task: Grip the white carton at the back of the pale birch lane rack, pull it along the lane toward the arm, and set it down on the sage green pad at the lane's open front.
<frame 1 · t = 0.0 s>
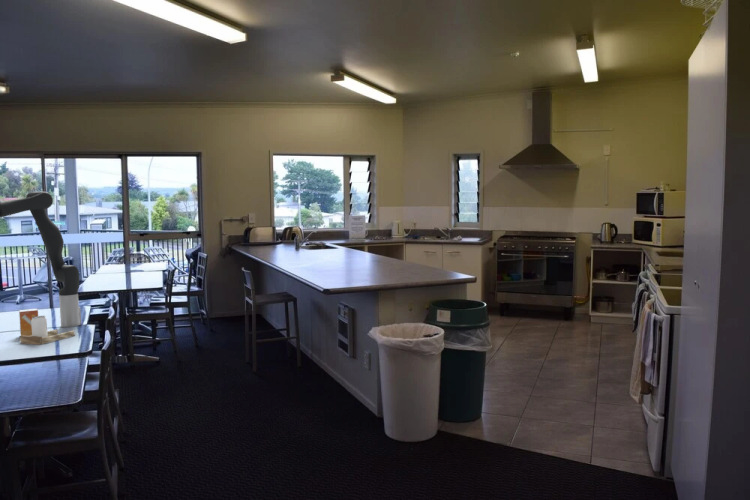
retrieval pad: (56, 337, 292), on the table
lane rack: (48, 339, 287), on the table
small box: (30, 335, 298), on the table
white carton: (40, 341, 283), resting in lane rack
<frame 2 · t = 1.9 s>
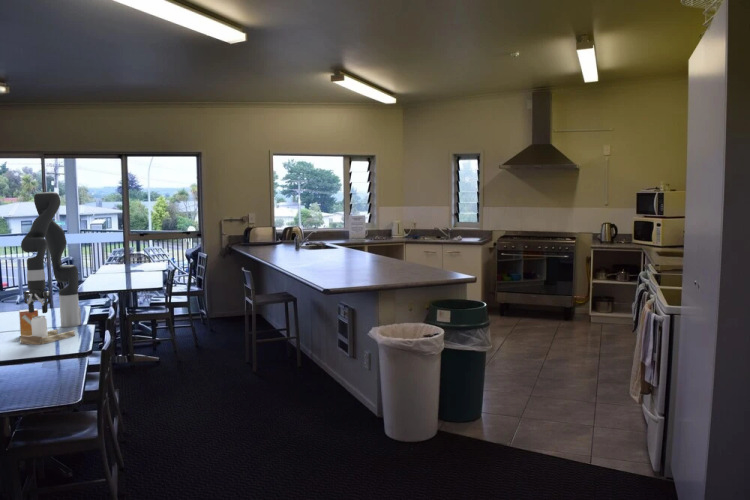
hand: (38, 312, 282), 14 cm above the table, tool pointing down, fingers open, 8 cm apart
nothing on the table moved.
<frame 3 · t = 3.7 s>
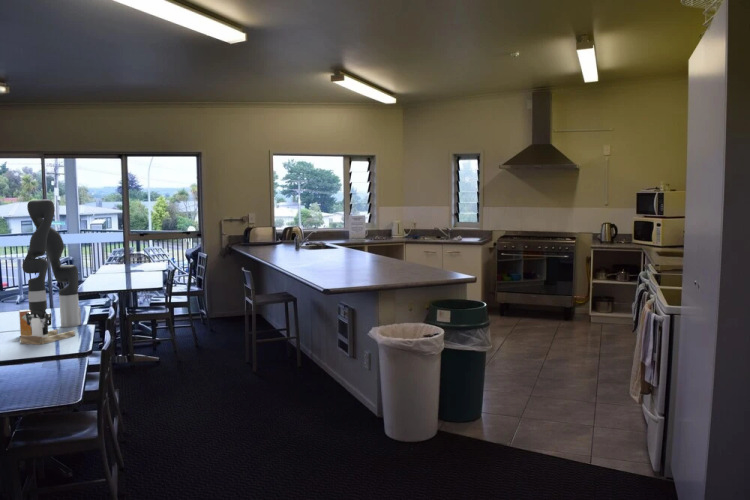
hand: (39, 334, 283), 4 cm above the table, tool pointing down, fingers closed on white carton, 6 cm apart
white carton: (40, 341, 283), resting in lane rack, touching gripper
everything else where it was.
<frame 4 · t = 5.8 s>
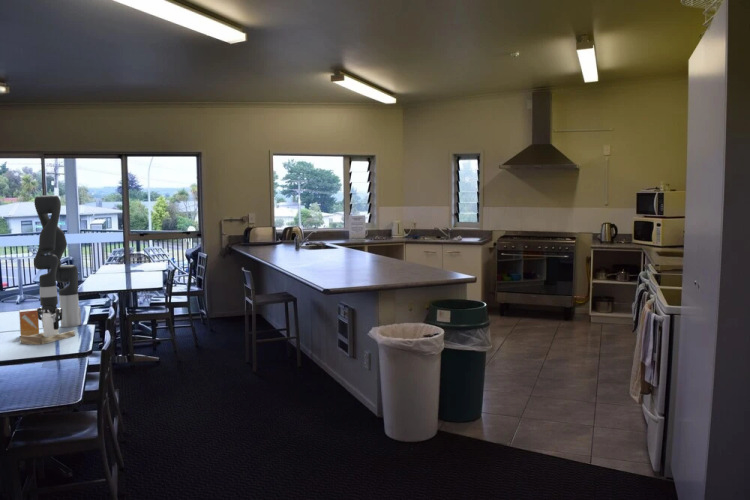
hand: (50, 328, 289), 5 cm above the table, tool pointing down, fingers closed on white carton, 6 cm apart
white carton: (51, 336, 290), point 1 cm above the table, touching gripper
everything else where it was.
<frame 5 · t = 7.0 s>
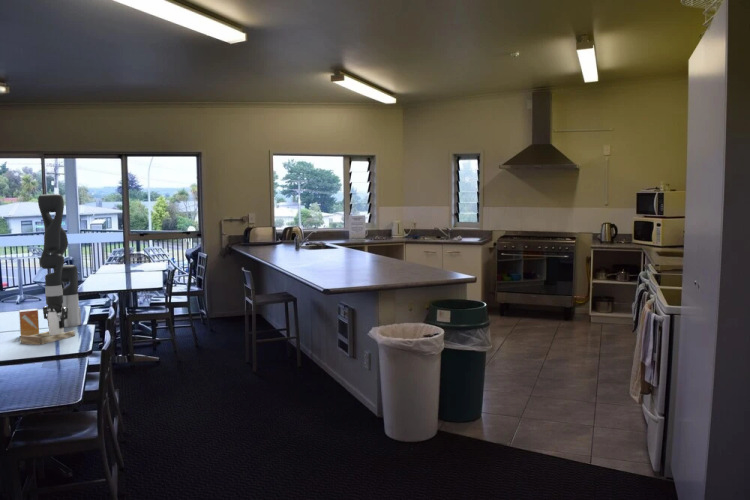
hand: (56, 327, 292), 5 cm above the table, tool pointing down, fingers closed on white carton, 6 cm apart
white carton: (56, 335, 292), point 1 cm above the table, touching gripper
everything else where it was.
when the fingers open (4 cm above the table, at t = 8.1 s): white carton stays where it is, resting on retrieval pad.
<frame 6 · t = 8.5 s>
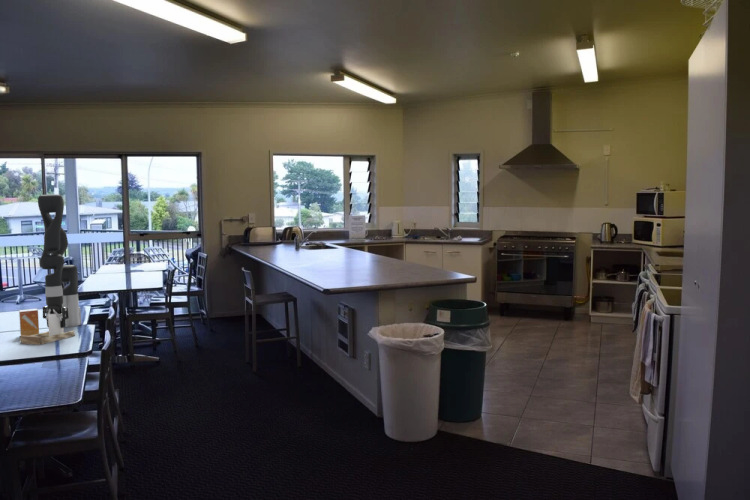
hand: (56, 327, 292), 5 cm above the table, tool pointing down, fingers open, 8 cm apart
white carton: (56, 336, 292), resting on retrieval pad
everything else where it was.
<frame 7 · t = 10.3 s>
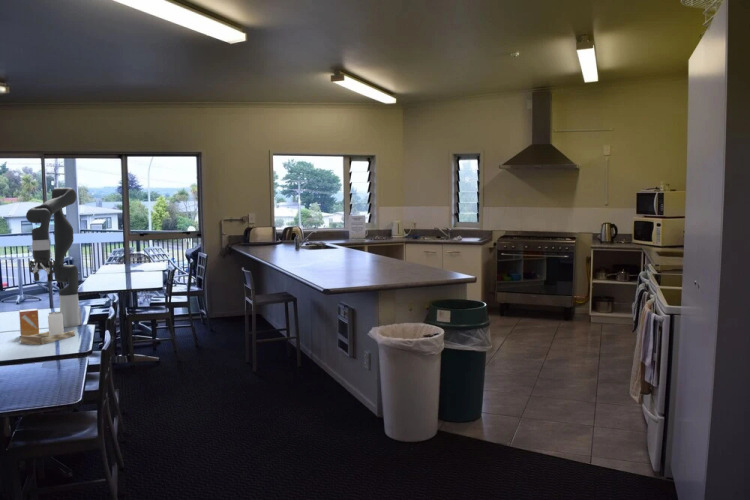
hand: (43, 281, 293), 28 cm above the table, tool pointing down, fingers open, 8 cm apart
nothing on the table moved.
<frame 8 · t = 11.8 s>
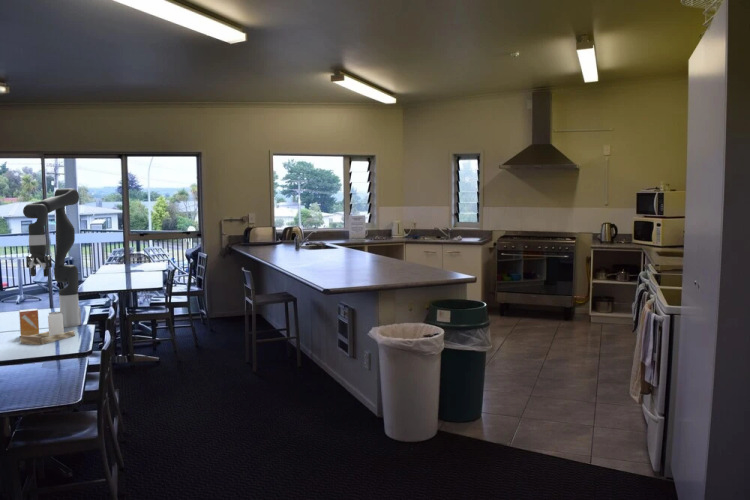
hand: (39, 276, 294), 30 cm above the table, tool pointing down, fingers open, 8 cm apart
nothing on the table moved.
at the end: white carton inside the target area (0.2 cm from its centre), resting on retrieval pad; white carton tilted 0°; the gripper is holding nothing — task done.
